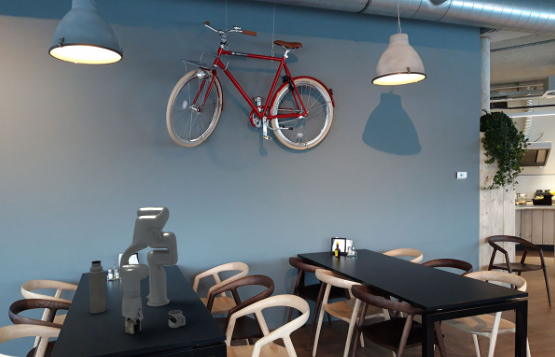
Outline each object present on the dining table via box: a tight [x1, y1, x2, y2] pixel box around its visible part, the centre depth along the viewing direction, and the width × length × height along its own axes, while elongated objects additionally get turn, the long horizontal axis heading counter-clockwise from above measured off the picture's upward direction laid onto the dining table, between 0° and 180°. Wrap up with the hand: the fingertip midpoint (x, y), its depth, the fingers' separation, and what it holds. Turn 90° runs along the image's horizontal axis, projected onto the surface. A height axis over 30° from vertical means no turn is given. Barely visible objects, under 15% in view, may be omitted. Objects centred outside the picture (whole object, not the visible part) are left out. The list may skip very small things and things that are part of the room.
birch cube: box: [124, 318, 142, 335], centre depth 207 cm, size 5×5×5 cm
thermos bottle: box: [88, 260, 107, 314], centre depth 239 cm, size 8×8×28 cm
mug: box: [168, 309, 186, 329], centre depth 213 cm, size 10×7×7 cm, turn 56°
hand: (133, 330), depth 207 cm, fingers closed on birch cube, 5 cm apart
